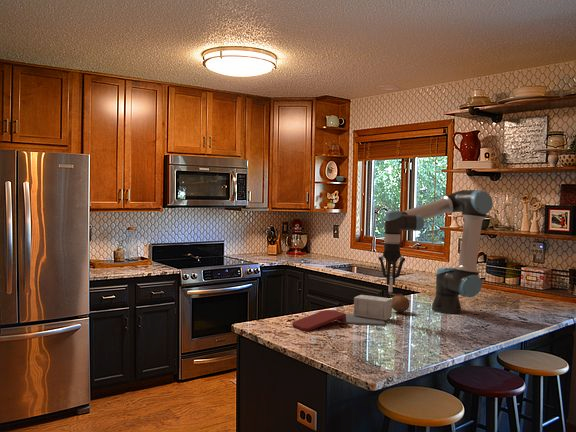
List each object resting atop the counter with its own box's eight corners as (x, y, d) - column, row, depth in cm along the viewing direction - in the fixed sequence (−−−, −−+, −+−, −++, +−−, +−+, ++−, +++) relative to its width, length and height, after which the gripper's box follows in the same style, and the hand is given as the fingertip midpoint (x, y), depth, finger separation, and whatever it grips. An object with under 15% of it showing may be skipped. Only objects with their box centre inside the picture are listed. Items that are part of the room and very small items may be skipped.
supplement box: (392, 298, 257) (360, 293, 265) (386, 301, 249) (353, 296, 257) (391, 317, 257) (359, 312, 265) (385, 320, 249) (352, 315, 257)
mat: (342, 315, 261) (342, 314, 261) (381, 317, 259) (381, 315, 259) (343, 323, 245) (343, 322, 245) (385, 325, 243) (385, 323, 243)
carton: (306, 339, 229) (349, 322, 243) (305, 329, 229) (348, 312, 242) (291, 333, 239) (332, 316, 253) (289, 322, 239) (331, 307, 252)
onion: (389, 313, 267) (390, 294, 267) (391, 310, 276) (392, 291, 276) (408, 315, 265) (409, 296, 264) (409, 311, 274) (410, 292, 273)
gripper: (379, 243, 246) (377, 292, 247) (407, 244, 245) (405, 293, 246) (377, 241, 254) (376, 289, 255) (404, 242, 253) (403, 290, 254)
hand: (390, 291), depth 250 cm, fingers closed
